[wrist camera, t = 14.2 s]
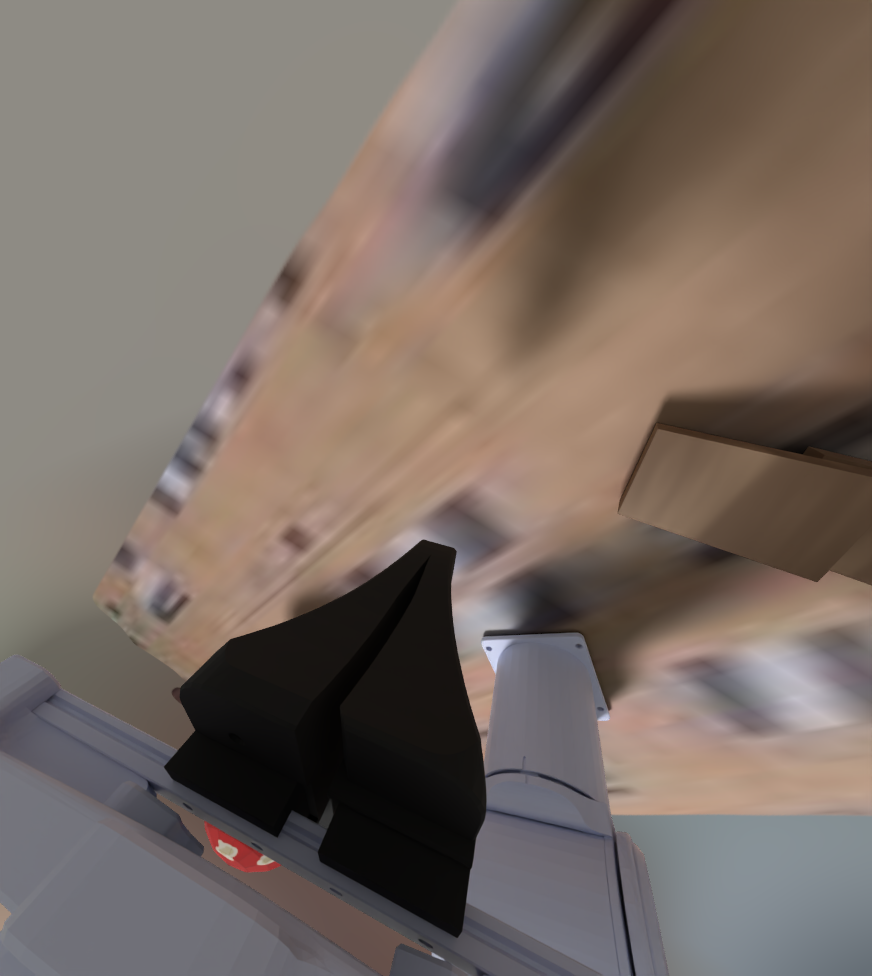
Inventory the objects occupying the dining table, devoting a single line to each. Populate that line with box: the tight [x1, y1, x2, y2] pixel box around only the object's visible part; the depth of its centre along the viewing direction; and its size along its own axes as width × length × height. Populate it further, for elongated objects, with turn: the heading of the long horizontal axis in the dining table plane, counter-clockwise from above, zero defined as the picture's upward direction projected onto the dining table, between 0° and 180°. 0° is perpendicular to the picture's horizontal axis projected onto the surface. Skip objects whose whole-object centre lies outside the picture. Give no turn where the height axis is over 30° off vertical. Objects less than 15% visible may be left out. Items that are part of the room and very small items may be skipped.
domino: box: [618, 423, 872, 582], centre depth 15 cm, size 2×5×8 cm
